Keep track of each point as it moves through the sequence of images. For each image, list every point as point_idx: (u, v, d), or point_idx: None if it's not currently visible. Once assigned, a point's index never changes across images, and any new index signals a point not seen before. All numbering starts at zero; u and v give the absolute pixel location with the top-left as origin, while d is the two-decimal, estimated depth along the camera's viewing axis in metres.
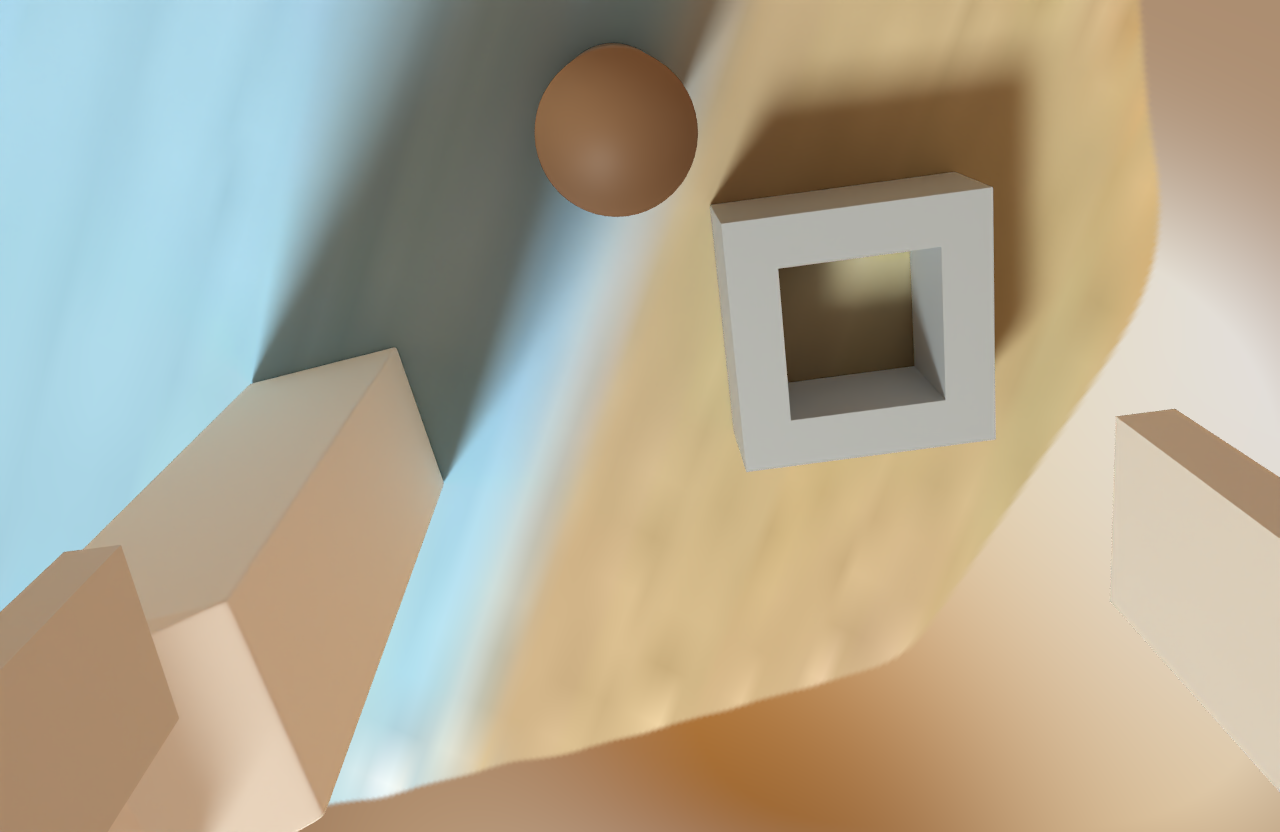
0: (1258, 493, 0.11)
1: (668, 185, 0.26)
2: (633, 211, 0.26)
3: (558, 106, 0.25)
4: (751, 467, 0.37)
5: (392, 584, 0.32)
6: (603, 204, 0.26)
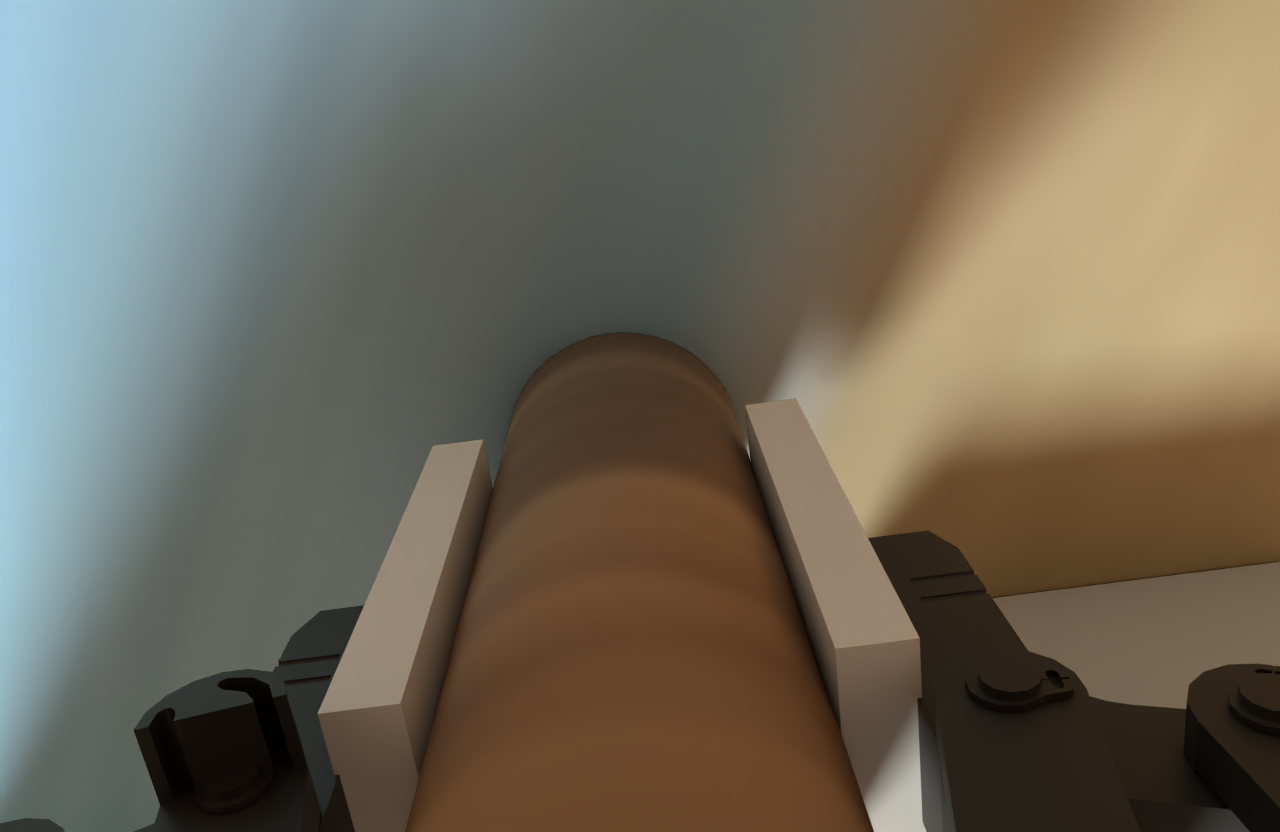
0: (797, 467, 0.13)
1: None
2: None
3: None
4: None
5: None
6: None
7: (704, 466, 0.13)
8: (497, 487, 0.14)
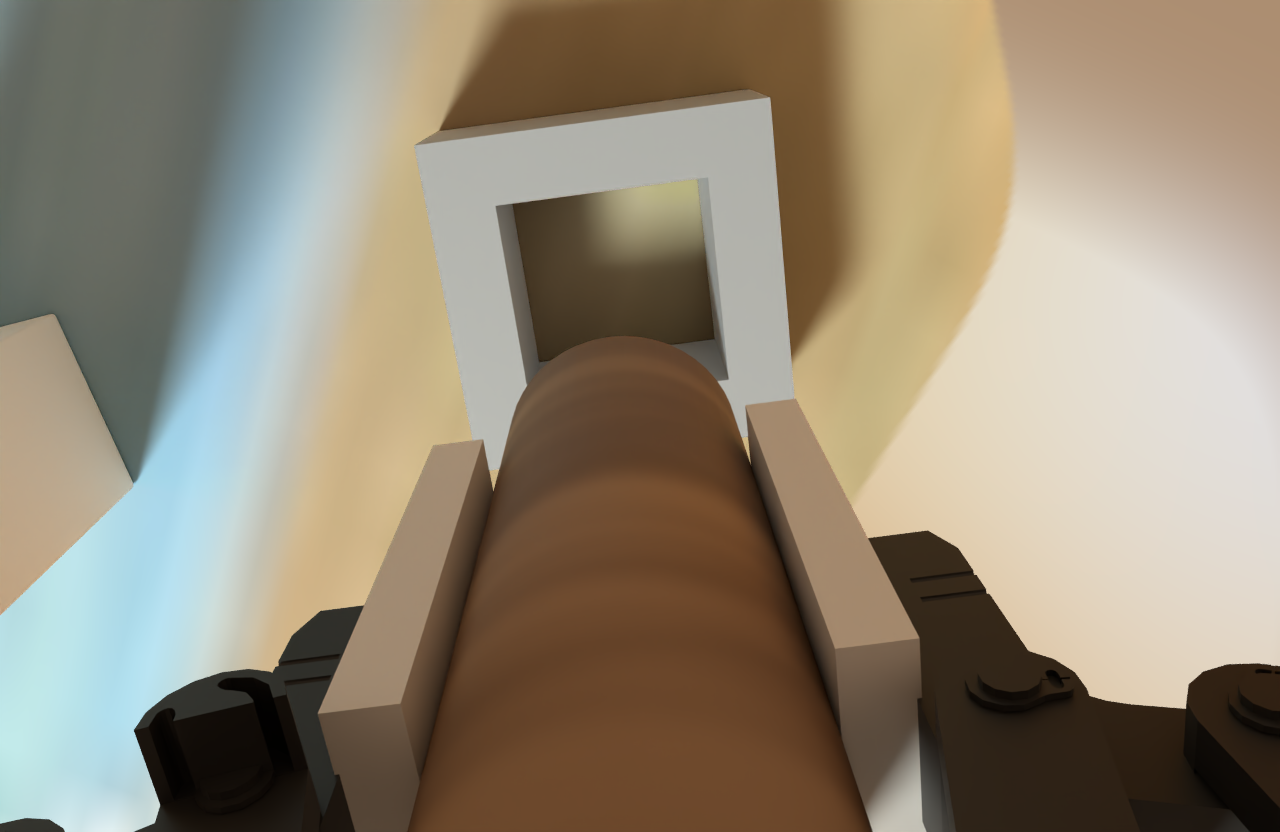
0: (797, 467, 0.13)
1: None
2: None
3: None
4: None
5: None
6: None
7: (705, 471, 0.13)
8: (497, 491, 0.14)
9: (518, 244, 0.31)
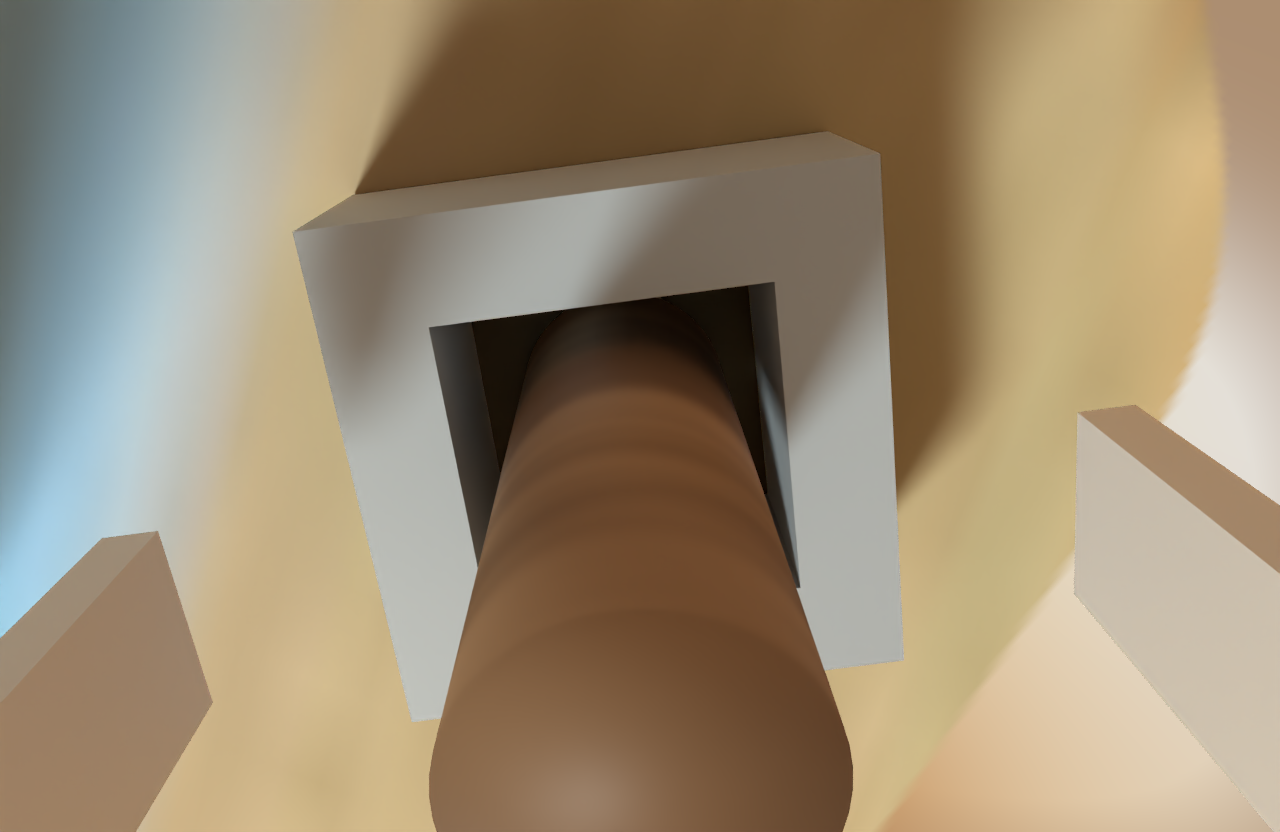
0: (1208, 486, 0.11)
1: None
2: None
3: (490, 737, 0.10)
4: (421, 713, 0.19)
5: None
6: None
7: (690, 389, 0.15)
8: (519, 413, 0.17)
9: (477, 362, 0.21)
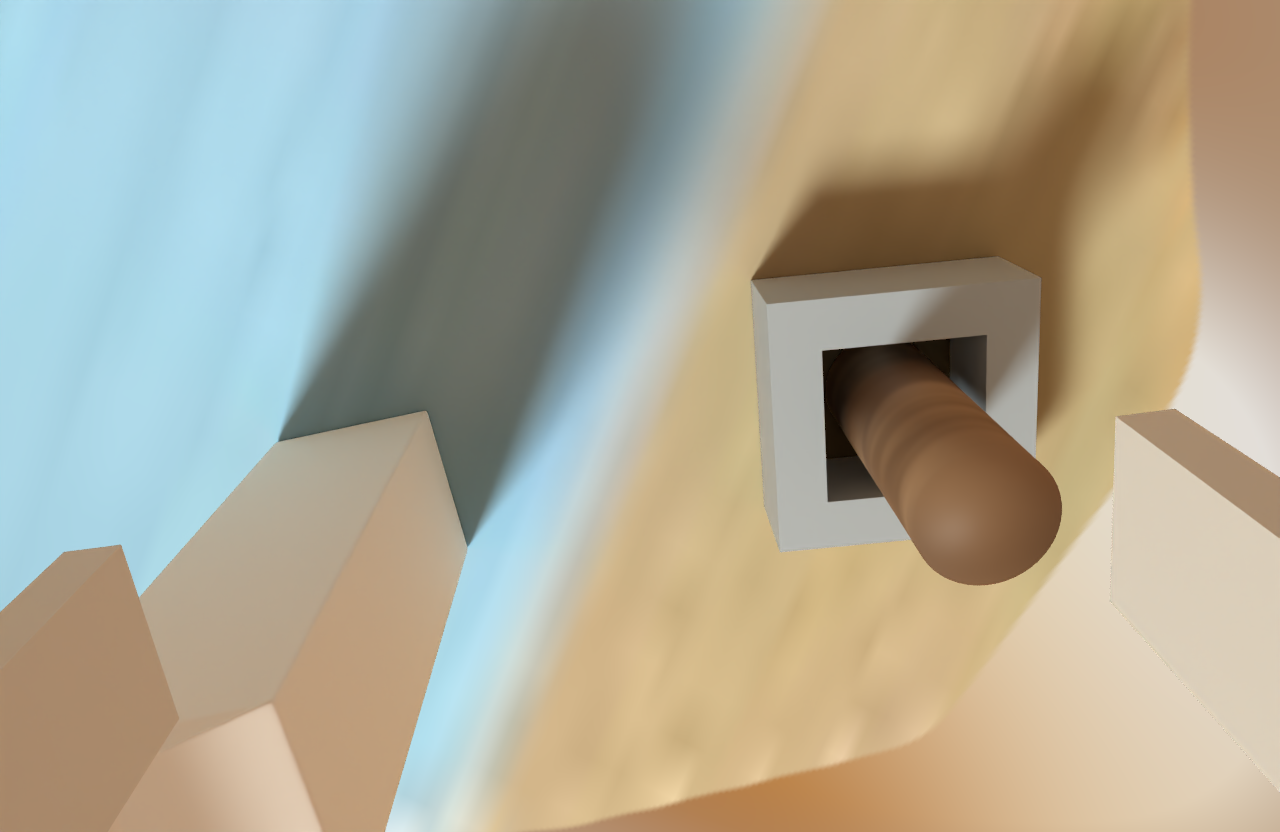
0: (1258, 493, 0.11)
1: (1028, 561, 0.28)
2: (992, 581, 0.28)
3: (939, 494, 0.28)
4: (785, 547, 0.37)
5: (421, 662, 0.32)
6: (966, 575, 0.28)
7: (952, 383, 0.34)
8: (858, 393, 0.35)
9: None
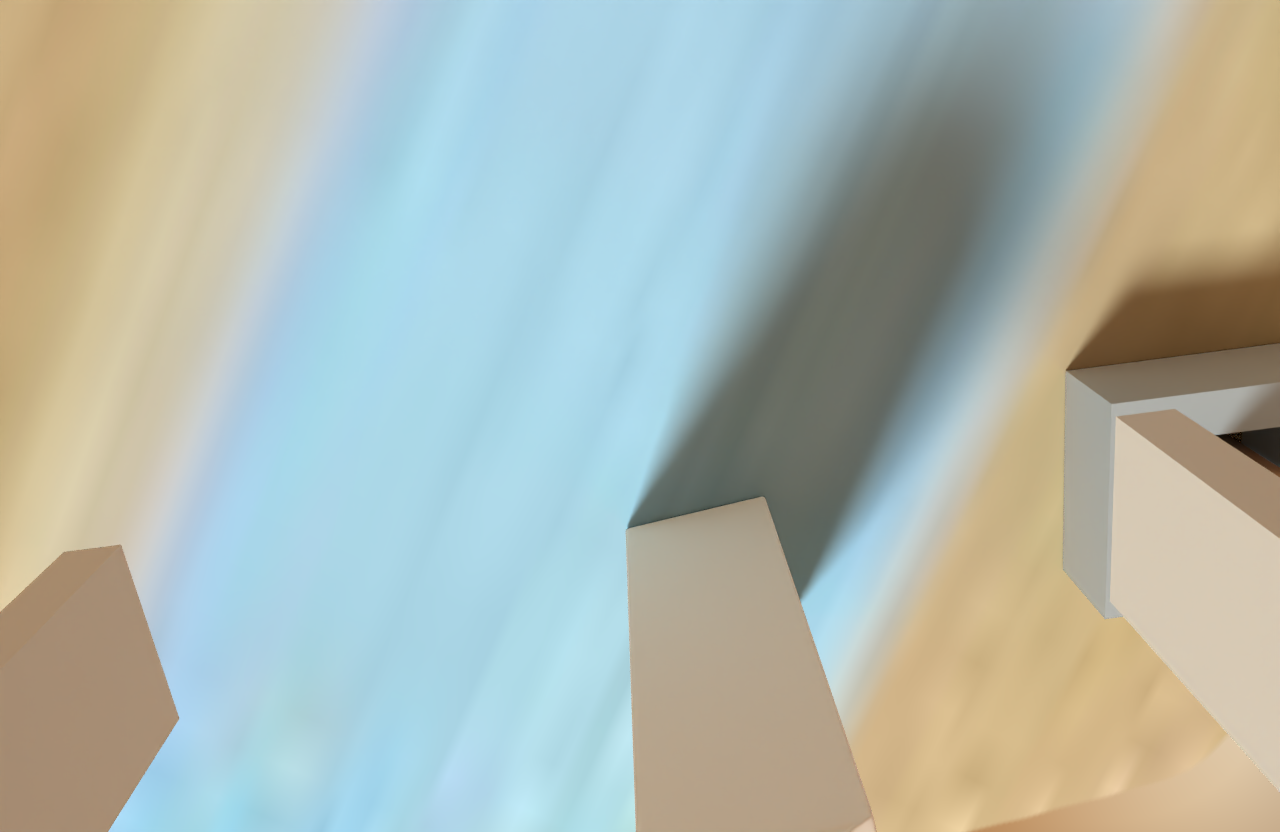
0: (1258, 493, 0.11)
1: None
2: None
3: None
4: (1110, 615, 0.41)
5: None
6: None
7: None
8: None
9: None
